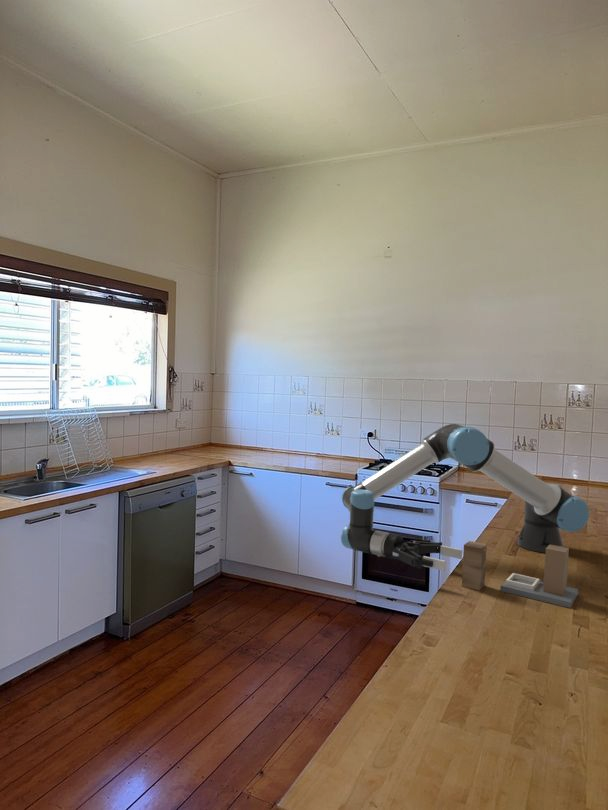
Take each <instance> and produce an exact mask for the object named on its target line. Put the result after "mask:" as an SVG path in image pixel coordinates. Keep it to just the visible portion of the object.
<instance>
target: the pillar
mask: <svg viewBox="0 0 608 810" xmlns="http://www.w3.org/2000/svg"><path fill="white" fill-rule="evenodd" d="M487 548H488V545H487V543H481V542H477V541H471V540H468V542H466V543H465V544H463V551H462V572H461V587H464V588H468V589H471V590H476V591H480V590H482V588H484V587H485V586H486V585H485V584H486V567H487V566H486V565H487V552H488V551H487Z"/></svg>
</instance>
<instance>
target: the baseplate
mask: <svg viewBox="0 0 608 810" xmlns="http://www.w3.org/2000/svg"><path fill="white" fill-rule="evenodd" d="M569 551H570V547H565V546H563V547H561V546H556V545H550V544H549V546H548V547H547V548H546V553H545V556H544V557H545V558H544V569H543V570H544V571H543V572H544V573H543V580H541V579H540V578H536V577H532V576H528V575H524V574H519V573H515V572H512V573H511V574H510V576H509V577H507V578H506V580H505V581H504V582H503V583H501V585H500V592H503V593H505V594H506V593H507V594H510V595H515V596H519V597H524V598H528V599H531V600H532V599H533V600H535V601H539V602H543V603H544V602H545V603H547V604H548V603H549V604H553V605H556V606H561V607H565V608H568V609H571V608H572V606H573V604H574V602H575V600H576V599H577V597H578V595H579V588H576V587H575V588H574V587H570V586H567V584H568V570H569V569H568V567H569V553H570V552H569Z"/></svg>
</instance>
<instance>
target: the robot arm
mask: <svg viewBox="0 0 608 810" xmlns="http://www.w3.org/2000/svg"><path fill="white" fill-rule="evenodd" d="M447 459H451V460H454V461H456V462H457V463H459V464H460V465H462V466H463V467H465V468H467V469H468V470H470V471H471V472H473V473H477V472H481V473H482V474H484V475H485V476H487V477H488V478H490V479H492V480H493V481H495V482H496V483H498V484H499V485H501V486H503V487H504V488H506V489H507V490H508V491H510V492H512V493H513V494H514V495H516V496H518V497H519V498H521V499H522V500H524V519H523V525H522V527H521V530H520V532H519V535H518V537H517V545H518V546H519V547H520V548H522V549H525V550H527V551H533V552H538V553H543V554H544V553H546V548H547V547H548V546H549V544H550V545H556V546H561V547H564V542H563V538H562V535H561V531H564V532H568V533H574V532H579V531H580V530H582V529H583V528H584V527H585V526H586V525H587V524H588V521H589V517H590V509H589V505H588V503H587V502H586V501H585V500H584V499H582V498H581V497H579V496H574V495H573V494H571V493H570V492H568V491H566V490H565V489H563V488H562V486H561V485H560V484H558V483H557V484H555V483H546V482H545V481H543V480H541V479H540V478H539V477H537V476H536V475H534V474H533V473H532V472H530V471H528V470H527V469H525V468H523V466H521V465H519V464H518V463H516V462H515V461H513V460H512V459H511V458H508V457H507V456H506V455H504V454H503V453H501V452H500V451H498V450H497V449H496V447H495V443H494V442H493V441H491V440H490V439H489V438H488V437H487V436H486V434H484V433H483V432H482V431H480V430H479V429H477V428H475V427H471V426H465V425H460V424H456V423H450V424H446V425H444V426H441V427H439V429H437V430H435V431H433V432H432V433H430V434H429V435H427V436H426V437H424V438H423V439H421V442H420V444H418V445H417V446H416V447H414V448H412V449H411V450H410V451H407V453H405V454H403V455H402V456H400V457H398V458H397V459H395V460H394V461H392V462H390V463H389V464H388V465H386V466H385V467H383V468H382V469H380V470H378V471H377V472H375V473H374V474H372V475H370V476H369V477H368V478H366V479H364V480H362V482H359V483H358V484H356V485H355V486H348V487H346V488H345V489H344V490H343V491H342V493H341V501H342V503H343V506H344V507H345V509H347V510H348V512H349V524H347V525H345V526H343V528H342V533H341V535H340V540H341V544H342V545H343V547H344V548H346V549H347V548H348V549H350V550H353V551H355V552H361V553H367V554H371V555H376V556H377V557H378V558H381V557H383V558H388V559H391V560H395V561H396V560H399V561H401V562H403V563H405V564H407V565H410V566H411V567H413V568H417V569H418V570H419V569H422V568H423V567H425V568H429V569H430V568H431V569H435V570H439V571H443V572H445V571H446V564H447V561H446V560H443V559H438V558H435V557H430V556H425V555H423V556H421V554H439V555H440V556H446V557H450V558H454V559H460V560H463V549H460V548H455V547H451V546H446V545H443V542H442V541H439V542H435V541H425V540H424V541H422V540H421V541H420V540H414V539H410V540H409V541H404V538H403V537H402V536H401V535H400V534H396V533H390V532H385V531H382V530H376V529H373V528H374V510H375V501H376V500H377V499H378V498H380V497H381V496H383V495H384V494H386V493H388V492H389V491H391V490H392V489H393V488H396V487H398V485H400V484H401V483H403V482H405V481H406V480H408V479H409V478H411V477H413V476H414V475H416V474H418V473H419V472H421V471H422V470H423V469H426V468H427V467H428V466H430V465H432V464H434V463H435V464H439V463H440V462H442V461H443V460H447ZM560 530H561V531H560Z"/></svg>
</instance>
